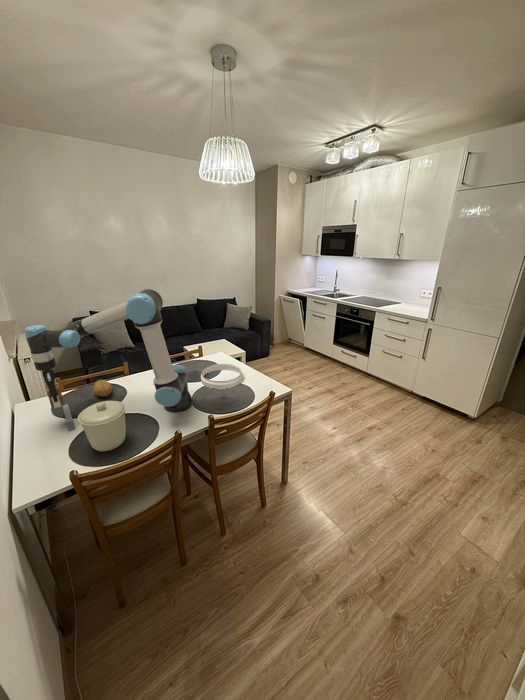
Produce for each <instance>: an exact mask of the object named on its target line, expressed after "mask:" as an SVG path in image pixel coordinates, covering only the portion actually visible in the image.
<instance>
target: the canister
mask: <svg viewBox="0 0 525 700" xmlns="http://www.w3.org/2000/svg"><path fill="white" fill-rule="evenodd" d="M126 409H127V407H126V405H125V403H123V402H121V401H118V400H104V401H100V402H99V401H98V402H96V403H93V404H91V405H89V406H88V407H86V408H84V409H83V410H82V411H81V412H80V413H79V414H78V416H77V422H78V423H79V424H80V425H81V426H82V429H83V431H84V433H85V436H86V438H87V440H88V442H89V444H90V446H91V447H92V448H93V449H94V450H95V451H98V452H107V451H108V452H109V451H112V450H115V449H116V448H118V447H120V446H121V445H122V444H123V443H124V441H125V439H126V434H127V429H126V411H127V410H126Z"/></svg>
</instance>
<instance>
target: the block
mask: <svg viewBox="0 0 525 700" xmlns="http://www.w3.org/2000/svg"><path fill="white" fill-rule="evenodd" d="M55 387H56V391H57V393H58V396H59V400H60V403H61V407H63V406H64V405H65V404H66V403H65V402H64V401H65V400H64V397H63V393H62V390H61V386H60V384H59V382H56V383H55ZM45 390H46V394H47V398H48V400H49V403H50V407H51V409H52V410H53V409H55V408H54V405H53V402H52V398H51V397H49V395H50V391H49V388H48V385H45Z"/></svg>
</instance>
